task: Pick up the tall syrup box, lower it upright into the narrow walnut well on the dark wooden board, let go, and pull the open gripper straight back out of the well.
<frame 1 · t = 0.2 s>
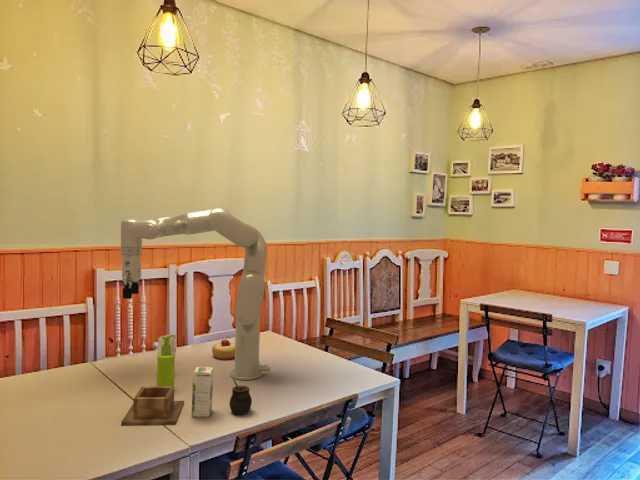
hand: (130, 296, 189), 31 cm above the table, tool pointing down, fingers open, 9 cm apart
mate gourd: (239, 412, 162), on the table
pastry: (225, 357, 220), on the table
syrup box: (202, 413, 160), on the table
soap dispenser: (166, 390, 178), on the table
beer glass: (166, 375, 193), on the table
well: (154, 413, 158), on the table
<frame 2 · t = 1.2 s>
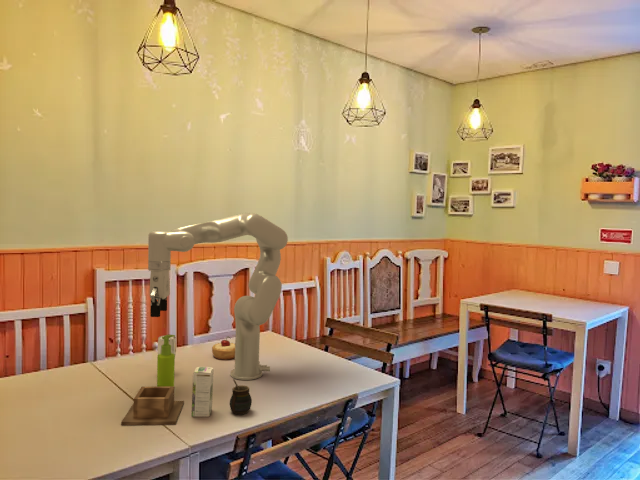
hand: (158, 313, 176), 28 cm above the table, tool pointing down, fingers open, 9 cm apart
nothing on the table moved.
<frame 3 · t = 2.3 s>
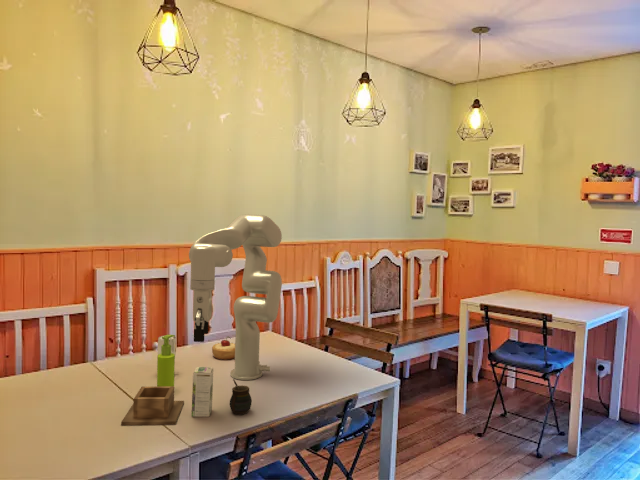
hand: (201, 337, 159), 25 cm above the table, tool pointing down, fingers open, 9 cm apart
nothing on the table moved.
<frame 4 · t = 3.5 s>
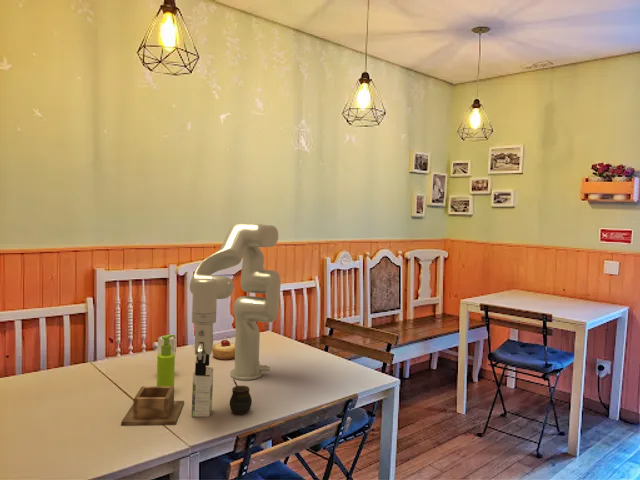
hand: (202, 370, 158), 14 cm above the table, tool pointing down, fingers open, 9 cm apart
nothing on the table moved.
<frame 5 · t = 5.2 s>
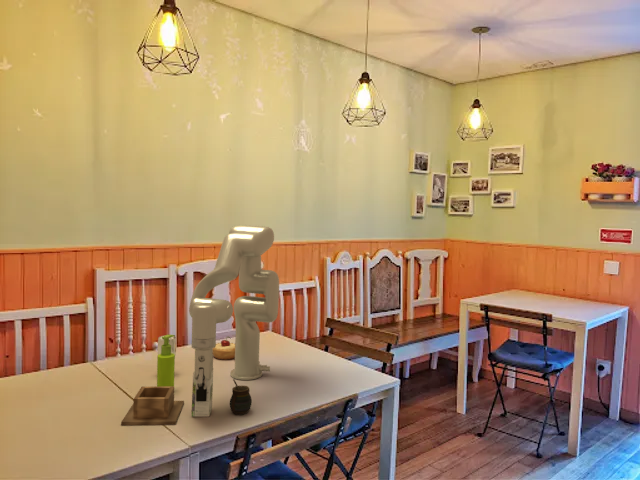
hand: (202, 396, 159), 6 cm above the table, tool pointing down, fingers closed on syrup box, 5 cm apart
syrup box: (202, 413, 160), on the table, touching gripper
everything else where it was.
when the fingers open (8 cm above the table, at t = 11.9 s): syrup box drops 2 cm, resting on well.
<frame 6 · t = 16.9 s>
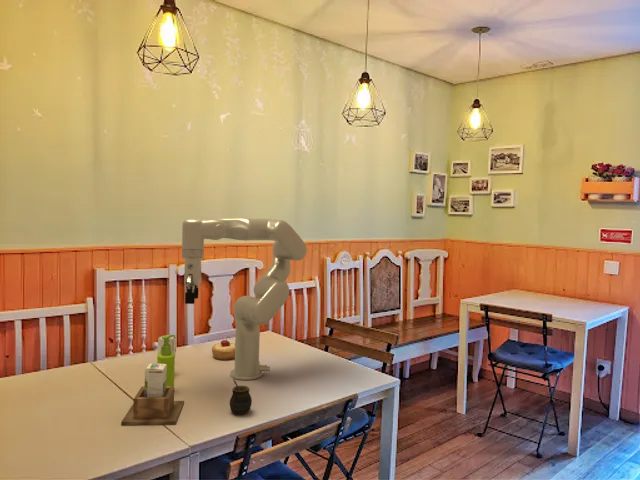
hand: (191, 300, 179), 32 cm above the table, tool pointing down, fingers open, 9 cm apart
syrup box: (155, 411, 158), point 1 cm above the table, touching well
everything else where it was.
at the end: syrup box 0.4 cm off-centre on the well, point 0.8 cm above the well's base; syrup box tilted 0°; the gripper is holding nothing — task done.
